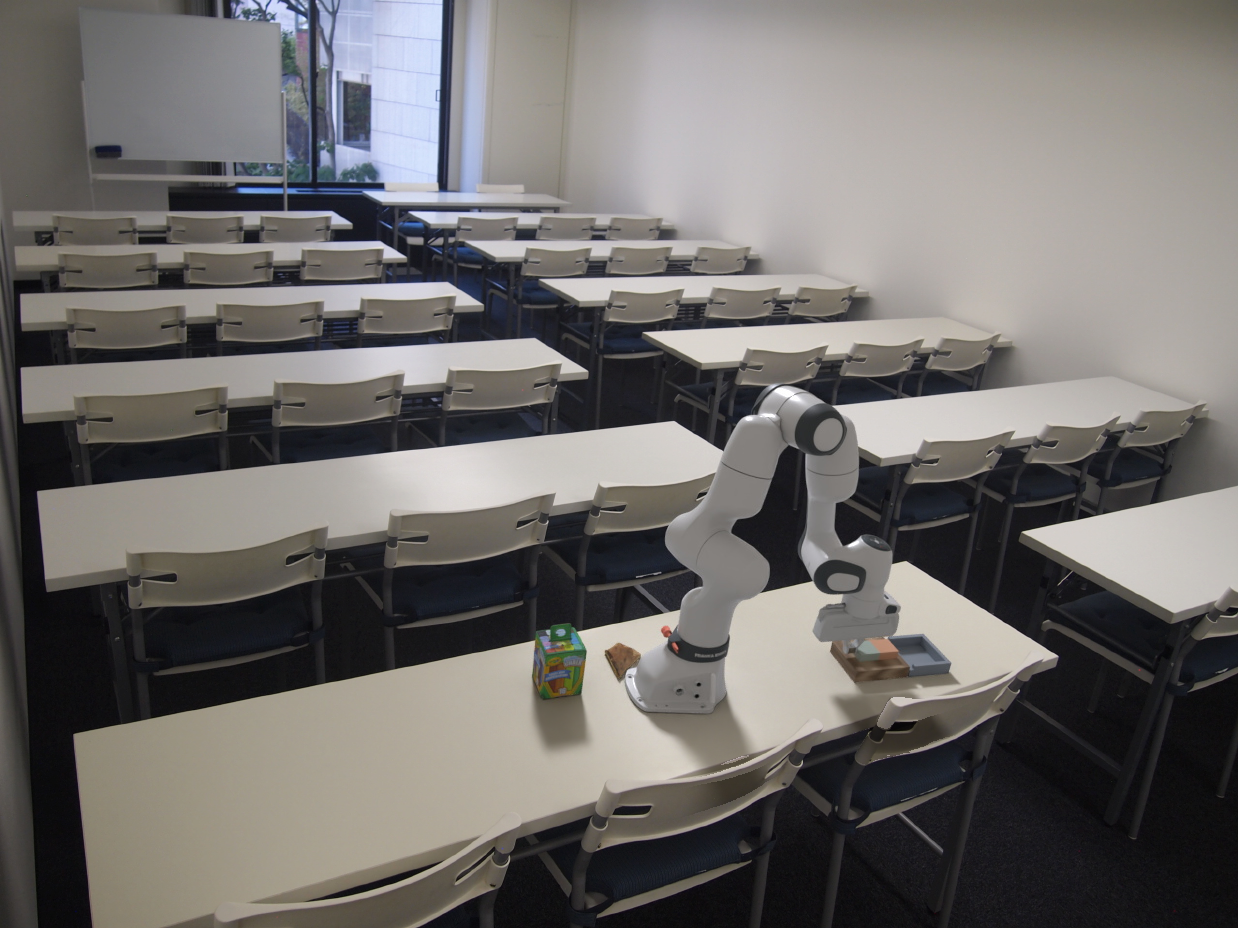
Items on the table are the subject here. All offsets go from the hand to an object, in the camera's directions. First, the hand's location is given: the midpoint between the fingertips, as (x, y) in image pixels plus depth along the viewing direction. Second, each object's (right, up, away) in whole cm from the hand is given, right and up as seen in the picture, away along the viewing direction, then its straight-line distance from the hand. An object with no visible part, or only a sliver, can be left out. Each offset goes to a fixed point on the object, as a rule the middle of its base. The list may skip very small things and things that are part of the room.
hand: (849, 651), depth 214 cm
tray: (+17, -3, +7) cm, 19 cm away
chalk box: (-68, -4, -15) cm, 69 cm away
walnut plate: (+5, -4, +3) cm, 7 cm away
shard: (-52, -2, -5) cm, 53 cm away
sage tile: (+4, -1, +1) cm, 4 cm away
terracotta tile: (+8, -1, +3) cm, 9 cm away
